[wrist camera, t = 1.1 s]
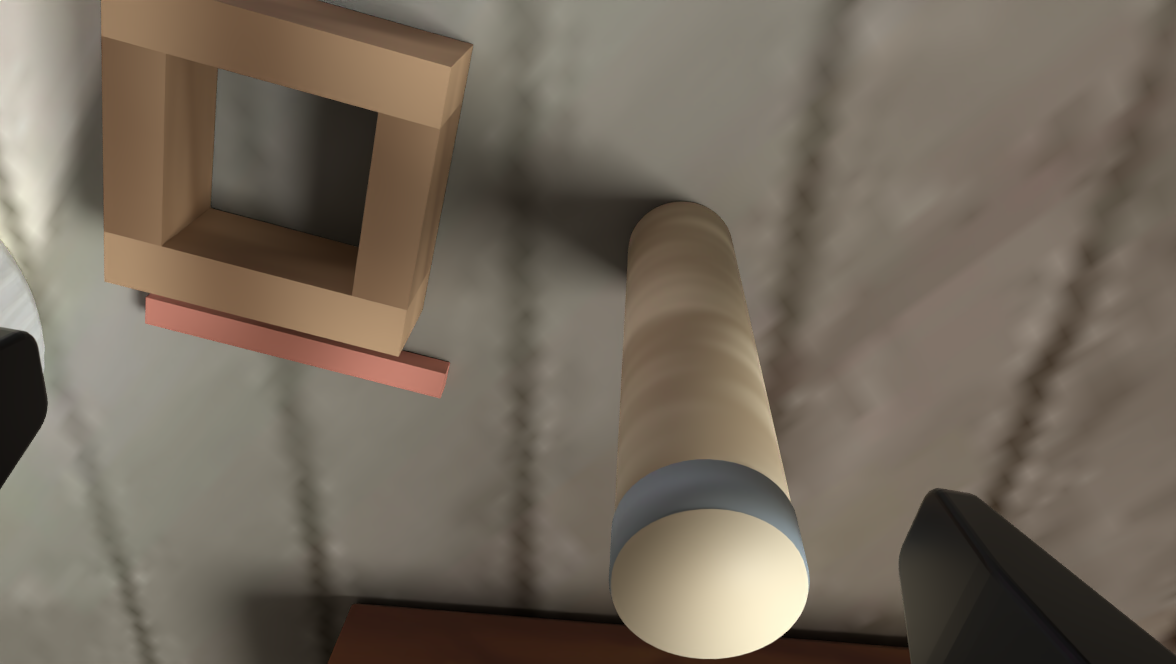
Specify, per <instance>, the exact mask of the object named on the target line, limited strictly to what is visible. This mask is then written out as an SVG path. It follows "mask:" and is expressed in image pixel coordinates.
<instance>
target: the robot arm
mask: <svg viewBox="0 0 1176 664" xmlns="http://www.w3.org/2000/svg"><path fill="white" fill-rule="evenodd" d="M47 405H48V401H47V394H46V388H45V382H44V377H43V371H42V365H41V359H40V354H39V348H38V344H37V342H36V340H35V339H34V337H33V336H32V335H31V334H29V333H28V332H26V331H22V330H16V329H10V328H5V327H0V489H1V487H2V486H3V484H4V483H5V481H6V480H7V478H8V477H9V475H10V474H11V472H12V471H13V469H14V467H15V466H16V464H17V463H18V461H19V460H20V458H21V457H22V455H23V454H24V452H25V451H26V449H27V448H28V446H29V445H30V443H31V442H32V440H33V439H34V437H35V436H36V434H37V432H38V431H39V429H40V428H41V426H42V424H43V422H44V419H45V417H46V413H47ZM899 577H900V585H901V592H902V600H903V607H904V615H905V623H906V630H907V638H908V645H909V653H910V660H911V664H1176V655H1175V654H1173V653H1172V652H1171V651H1170V650H1168V649H1167V648H1166V647H1165V646H1163V645H1162V644H1161V643H1160V642H1158V641H1157V640H1156V639H1155V638H1153V637H1152V636H1151V635H1149V634H1148V633H1147V632H1146V631H1144V630H1143V629H1142V628H1141V627H1139V626H1138V625H1137V624H1136V623H1134V622H1133V621H1132V620H1131V619H1129V618H1128V617H1127V616H1126V615H1124V614H1123V613H1122V612H1121V611H1119V610H1118V609H1117V608H1116V607H1114V606H1113V605H1112V604H1111V603H1109V602H1108V601H1107V600H1106V599H1104V598H1103V597H1102V596H1101V595H1099V594H1098V593H1097V592H1096V591H1094V590H1093V589H1092V588H1091V587H1089V586H1088V585H1087V584H1086V583H1084V582H1083V581H1082V580H1081V579H1079V578H1078V577H1077V576H1076V575H1074V574H1073V573H1072V572H1071V571H1069V570H1068V569H1067V568H1066V567H1064V566H1063V565H1062V564H1061V563H1059V562H1058V561H1057V560H1056V559H1054V558H1053V557H1052V556H1051V555H1049V554H1048V553H1047V552H1046V551H1044V550H1043V549H1042V548H1041V547H1039V546H1038V545H1037V544H1036V543H1034V542H1033V541H1032V540H1031V539H1029V538H1028V537H1027V536H1026V535H1024V534H1023V533H1022V532H1021V531H1019V530H1018V529H1017V528H1016V527H1014V526H1013V525H1012V524H1011V523H1009V522H1008V521H1007V520H1006V519H1004V518H1003V517H1002V516H1001V515H999V514H998V513H997V512H996V511H994V510H993V509H992V508H991V507H989V506H988V505H987V504H986V503H984V502H983V501H982V500H981V499H979V498H978V497H977V496H975V495H973V494H970V493H965V492H959V491H953V490H947V489H941V488H936V489H933V490H931V491H929V492H928V494H927V495H926V496H925V498H924V499H923V501H922V503H921V506H920V508H919V510H918V512H917V514H916V517H915V519H914V521H913V523H912V525H911V528H910V530H909V532H908V534H907V536H906V539H905V541H904V543H903V545H902V548H901V552H900V556H899Z"/></svg>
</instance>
